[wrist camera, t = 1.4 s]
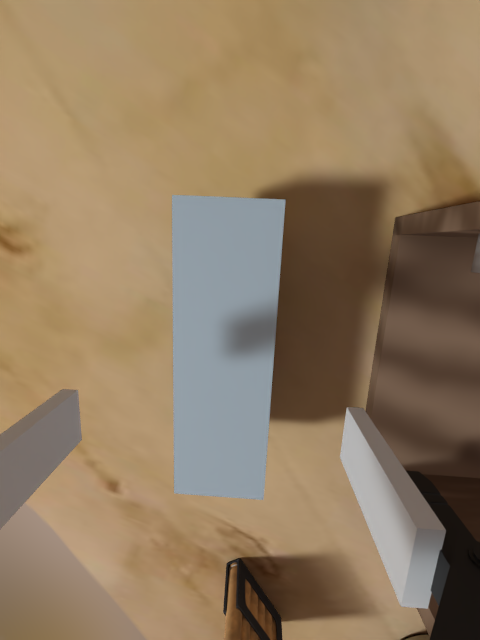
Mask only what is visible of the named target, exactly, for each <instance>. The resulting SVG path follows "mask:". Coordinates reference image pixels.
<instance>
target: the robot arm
mask: <svg viewBox="0 0 480 640" xmlns="http://www.w3.org/2000/svg"><path fill="white" fill-rule="evenodd" d="M81 440H82V436H81V423H80V411H79V398H78V390H70V389H62V390H61V391H59V392H58V393H57V394H55V395H54V396H52V397H51V398H50V399H48V400H47V401H46V402H44V403H43V404H41V405H40V406H39V407H37V408H36V409H35V410H33V411H32V412H30V413H29V414H28V415H26V416H25V417H24V418H22V419H21V420H20V421H18V422H17V423H15V424H14V425H13V426H11V427H10V428H9V429H7V430H6V431H4V432H3V433H2V434H0V529H1V528H2V527H3V526H4V525H5V524H6V522H7V521H8V520H9V519H10V518H11V517H12V516H13V515H14V514H15V513H16V511H17V510H18V509H19V508H20V507H21V506H22V505H23V504H24V503H25V502H26V500H27V499H28V498H29V497H30V496H31V495H32V494H33V493H34V492H35V491H36V489H37V488H38V487H39V486H40V485H41V484H42V483H43V482H44V481H45V480H46V478H47V477H48V476H49V475H50V474H51V473H52V472H53V471H54V470H55V469H56V467H57V466H58V465H59V464H60V463H61V462H62V461H63V460H64V459H65V458H66V456H67V455H68V454H69V453H70V452H71V451H72V450H73V449H74V448H75V447H76V445H77V444H78V443H79V442H80V441H81ZM340 458H341V461H342V463H343V466H344V468H345V471H346V473H347V476H348V478H349V480H350V483H351V485H352V488H353V490H354V493H355V495H356V498H357V500H358V503H359V505H360V507H361V510H362V512H363V515H364V517H365V520H366V522H367V525H368V527H369V529H370V532H371V534H372V537H373V539H374V542H375V544H376V547H377V549H378V552H379V554H380V556H381V559H382V561H383V564H384V566H385V569H386V571H387V574H388V576H389V578H390V581H391V583H392V586H393V588H394V591H395V593H396V596H397V598H398V601H399V603H400V605H401V606H402V607H413V608H425V609H428V606H429V602H430V597H431V593H432V594H433V596H434V598H435V600H436V602H437V604H438V606H439V607H438V611H437V615H436V618H435V622H434V625H433V629H432V633H431V636H430V640H480V542H478V541H476V540H475V538H474V537H473V536H472V534H471V533H470V532H469V530H468V529H467V528H466V526H465V525H464V524H463V522H462V521H461V520H460V518H459V517H458V516H457V514H456V513H455V512H454V511H453V509H452V508H451V507H450V505H448V503H447V501H446V500H445V499H444V497H443V496H441V495H440V492H439V491H438V489H437V488H436V487H435V485H434V484H433V483H432V482H431V481H430V480H429V479H428V478H426V477H425V476H424V475H423V474H421V473H420V472H419V471H407V470H405V469H404V468H403V466H402V465H401V463H400V462H399V460H398V459H397V457H396V456H395V454H394V453H393V451H392V450H391V448H390V447H389V446H388V444H387V443H386V441H385V440H384V438H383V437H382V435H381V434H380V432H379V431H378V429H377V428H376V426H375V425H374V423H373V422H372V420H371V419H370V418H369V416H368V415H367V413H366V412H365V410H364V409H363V408H356V407H347V409H346V417H345V424H344V432H343V439H342V447H341V454H340Z"/></svg>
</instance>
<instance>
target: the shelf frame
mask: <svg viewBox="0 0 480 640" xmlns="http://www.w3.org/2000/svg"><path fill="white" fill-rule="evenodd" d="M366 413H367V415H368V416H369V418H370V419H371V420H372V422H373V423H374V425H375V426H376V428H377V429H378V431H379V432H380V434H381V435H382V437H383V438H384V440H385V441H386V443H387V444H388V446H389V447H390V448H391V450H392V451H393V453H394V454H395V456H396V457H397V459H398V460H399V462H400V463H401V465H402V466H403V468H404V469H405V470H407V471H419V472H420V473H421V474H423V475H424V476H425V477H426V478H428V479H429V480H430V481H431V482H432V483H433V484H434V485H435V487H436V488H437V489H438V491H439V492H440V495H441V496H443V497H444V499H445V500H446V501H447V503H448V505H450V507H451V508H452V509H453V511H454V512H455V513H456V514H457V516H458V517H459V518H460V520H461V521H462V522H463V524H464V525H465V526H466V528H467V529H468V530H469V532H470V533H471V534H472V536H473V537H474V538H475V540H476V541H478V542H480V201H479V202H473V203H468V204H463V205H458V206H453V207H447V208H442V209H437V210H432V211H427V212H422V213H416V214H411V215H406V216H401V217H396V218H395V224H394V231H393V237H392V244H391V250H390V256H389V263H388V269H387V276H386V282H385V289H384V295H383V302H382V308H381V315H380V321H379V328H378V334H377V341H376V347H375V354H374V360H373V367H372V373H371V379H370V386H369V392H368V399H367V405H366ZM438 607H439V606H438V604H437V602H436V600H435V598H434V596H433V594H432V593H431V597H430V602H429V606H428V609H425V608H417V610H418V612H419V614H420V616H421V619H422V621H423V623H424V625H425V627H426V630H427V632H428V634H429V636H431V633H432V629H433V625H434V622H435V618H436V615H437V611H438Z"/></svg>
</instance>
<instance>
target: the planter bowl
mask: <svg viewBox="0 0 480 640" xmlns="http://www.w3.org/2000/svg"><path fill="white" fill-rule="evenodd" d="M405 640H430V636H429V635H419V636H413V637H410V638H407V639H405Z"/></svg>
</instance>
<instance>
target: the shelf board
mask: <svg viewBox="0 0 480 640" xmlns="http://www.w3.org/2000/svg"><path fill="white" fill-rule="evenodd" d="M284 214H285V199H260V198H235V197H210V196H185V195H172V251H173V388H174V493H177V494H191V495H204V496H218V497H232V498H246V499H259V500H263V498H264V485H265V471H266V458H267V444H268V431H269V417H270V404H271V390H272V376H273V363H274V349H275V336H276V322H277V309H278V295H279V282H280V268H281V255H282V241H283V227H284Z"/></svg>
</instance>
